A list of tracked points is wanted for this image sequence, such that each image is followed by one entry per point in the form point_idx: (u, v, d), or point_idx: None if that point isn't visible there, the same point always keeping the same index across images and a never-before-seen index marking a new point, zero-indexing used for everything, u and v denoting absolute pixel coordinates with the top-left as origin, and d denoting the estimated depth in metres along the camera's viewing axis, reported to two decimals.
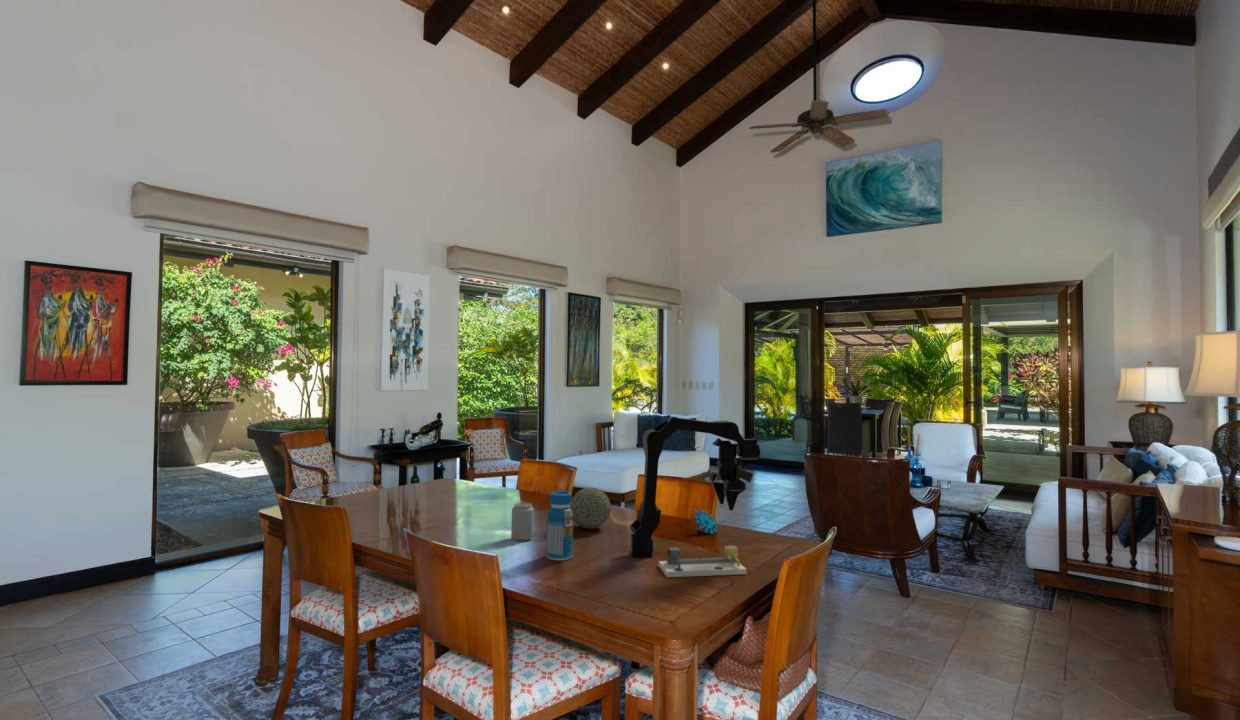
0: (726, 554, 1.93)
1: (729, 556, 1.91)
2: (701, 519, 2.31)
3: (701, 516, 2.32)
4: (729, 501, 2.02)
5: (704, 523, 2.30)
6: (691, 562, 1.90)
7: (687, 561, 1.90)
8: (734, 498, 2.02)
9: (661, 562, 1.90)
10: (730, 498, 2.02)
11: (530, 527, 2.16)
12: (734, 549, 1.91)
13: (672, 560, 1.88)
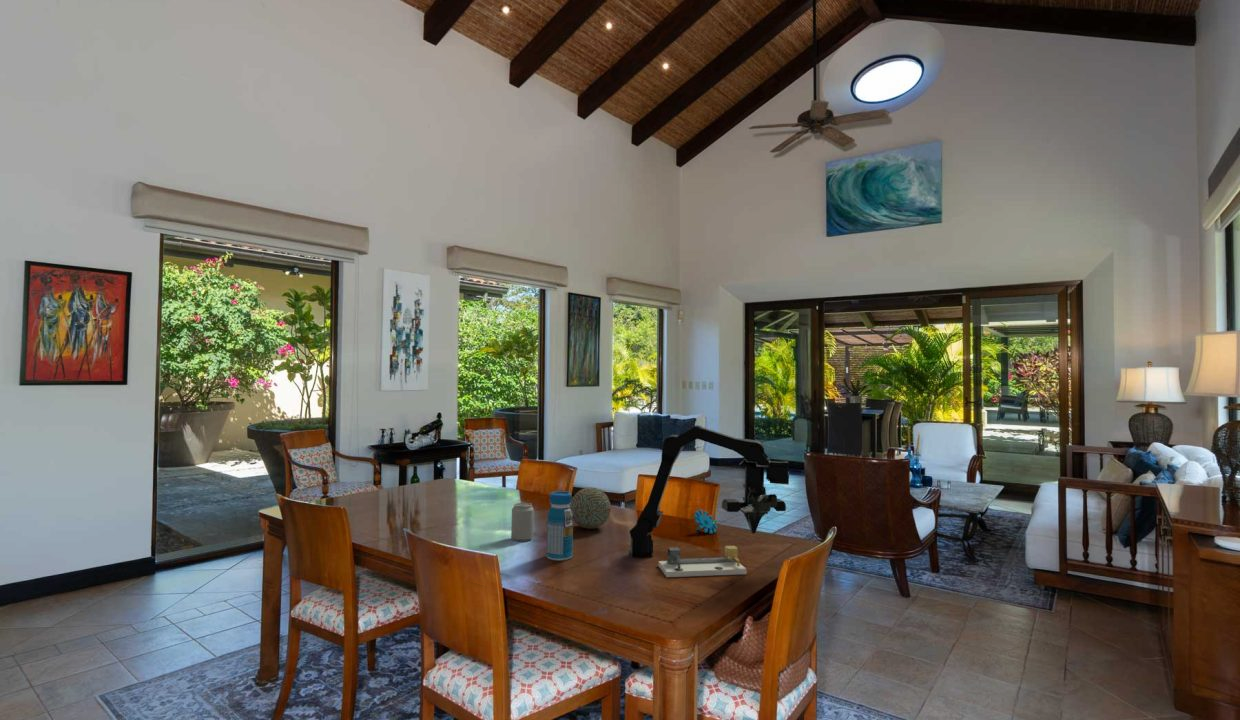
0: (726, 554, 1.93)
1: (729, 556, 1.91)
2: (701, 519, 2.31)
3: (701, 516, 2.33)
4: (748, 522, 1.95)
5: (704, 523, 2.31)
6: (691, 562, 1.90)
7: (687, 561, 1.90)
8: (749, 520, 1.93)
9: (661, 562, 1.90)
10: (747, 519, 1.95)
11: (530, 527, 2.16)
12: (734, 549, 1.91)
13: (672, 560, 1.88)
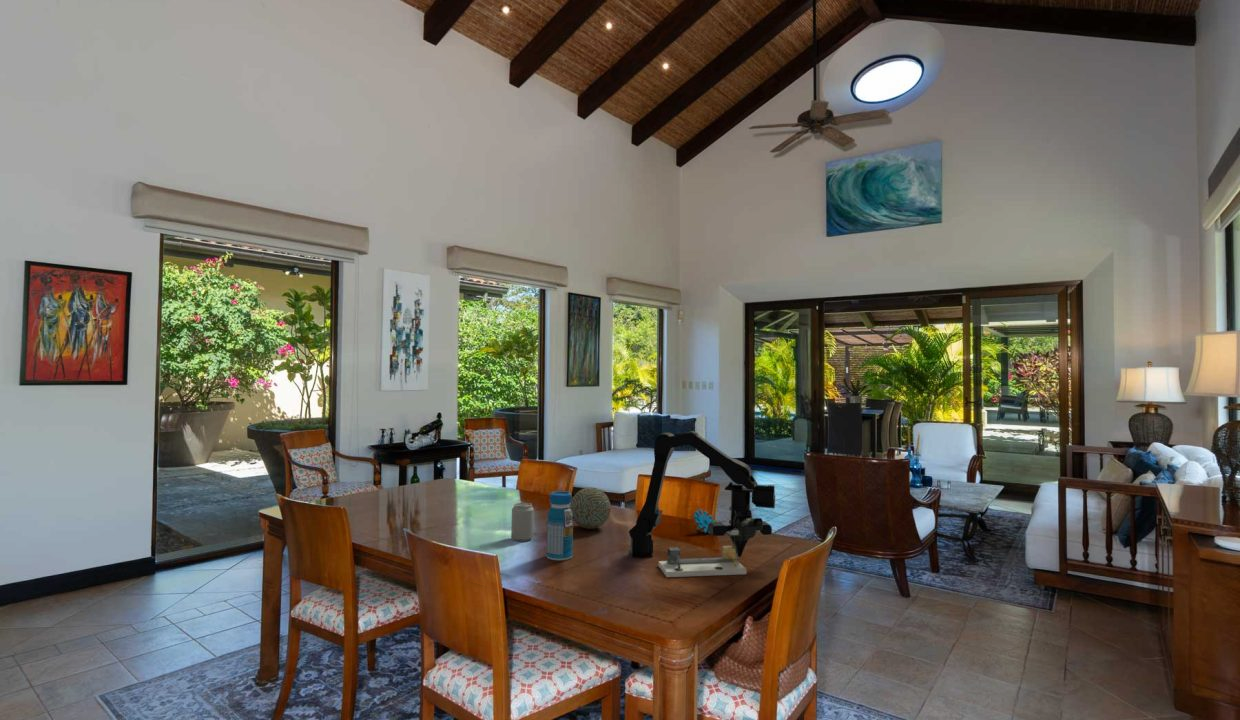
0: (724, 554, 1.92)
1: (727, 556, 1.91)
2: (700, 519, 2.32)
3: (700, 516, 2.33)
4: (734, 545, 1.94)
5: (703, 523, 2.31)
6: (691, 562, 1.90)
7: (687, 561, 1.90)
8: (735, 543, 1.93)
9: (661, 562, 1.90)
10: (734, 542, 1.94)
11: (530, 527, 2.16)
12: (732, 549, 1.91)
13: (672, 560, 1.88)
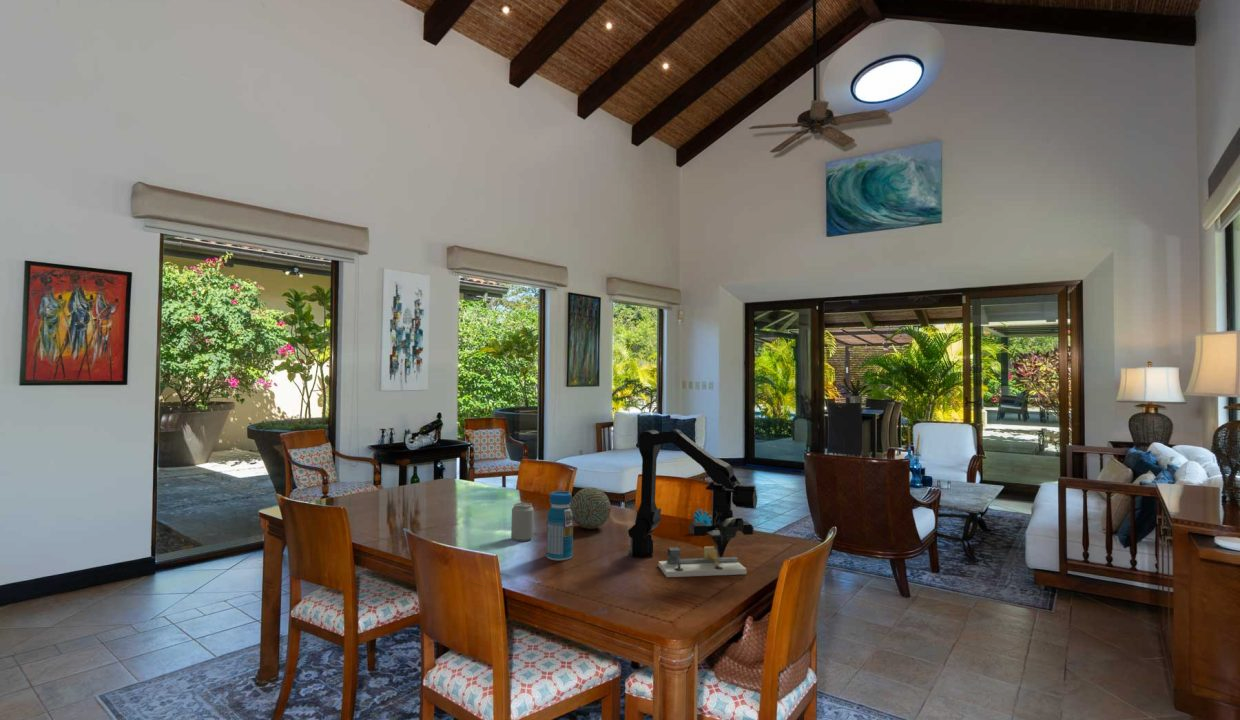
0: (705, 555, 1.91)
1: (708, 557, 1.90)
2: (700, 519, 2.32)
3: (700, 516, 2.33)
4: (715, 545, 1.93)
5: (703, 523, 2.31)
6: (691, 562, 1.90)
7: (687, 561, 1.90)
8: (716, 544, 1.92)
9: (661, 562, 1.90)
10: (715, 542, 1.93)
11: (530, 527, 2.16)
12: (713, 550, 1.90)
13: (672, 560, 1.88)
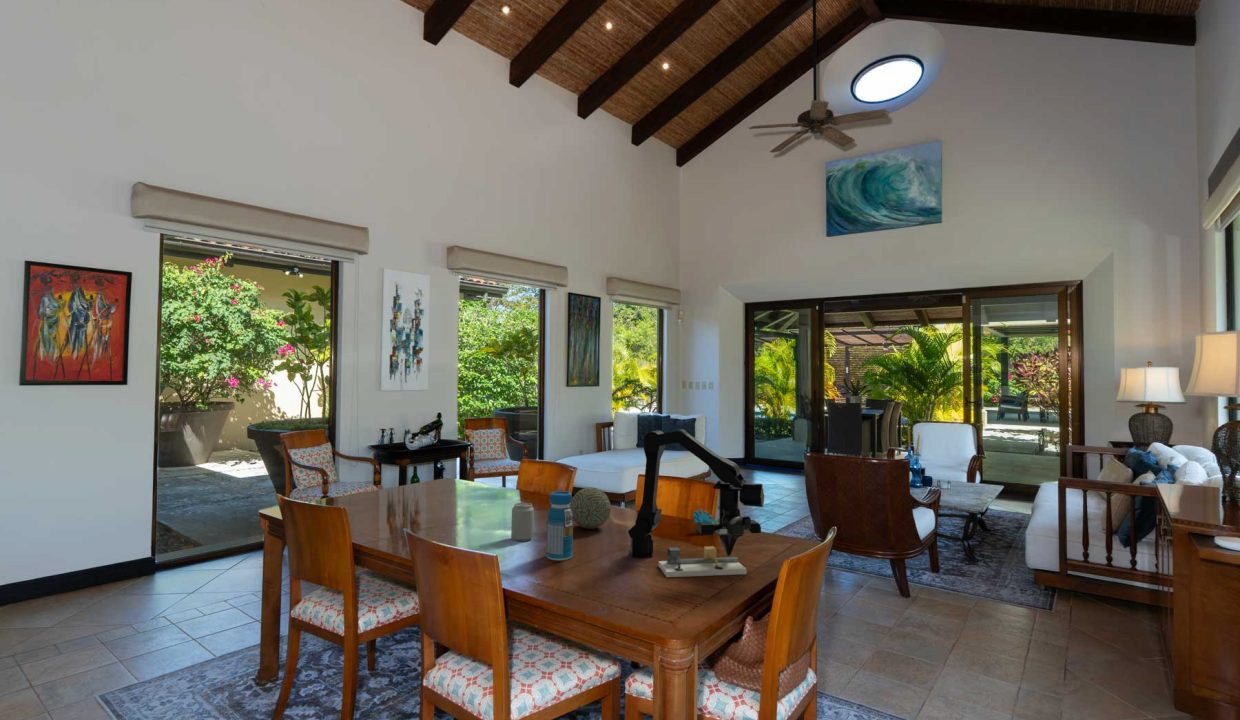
0: (705, 555, 1.91)
1: (708, 557, 1.90)
2: (700, 518, 2.32)
3: (700, 516, 2.33)
4: (723, 544, 1.93)
5: None
6: (691, 562, 1.90)
7: (687, 561, 1.90)
8: (724, 542, 1.92)
9: (661, 562, 1.90)
10: (723, 541, 1.93)
11: (530, 527, 2.16)
12: (713, 550, 1.90)
13: (672, 560, 1.88)
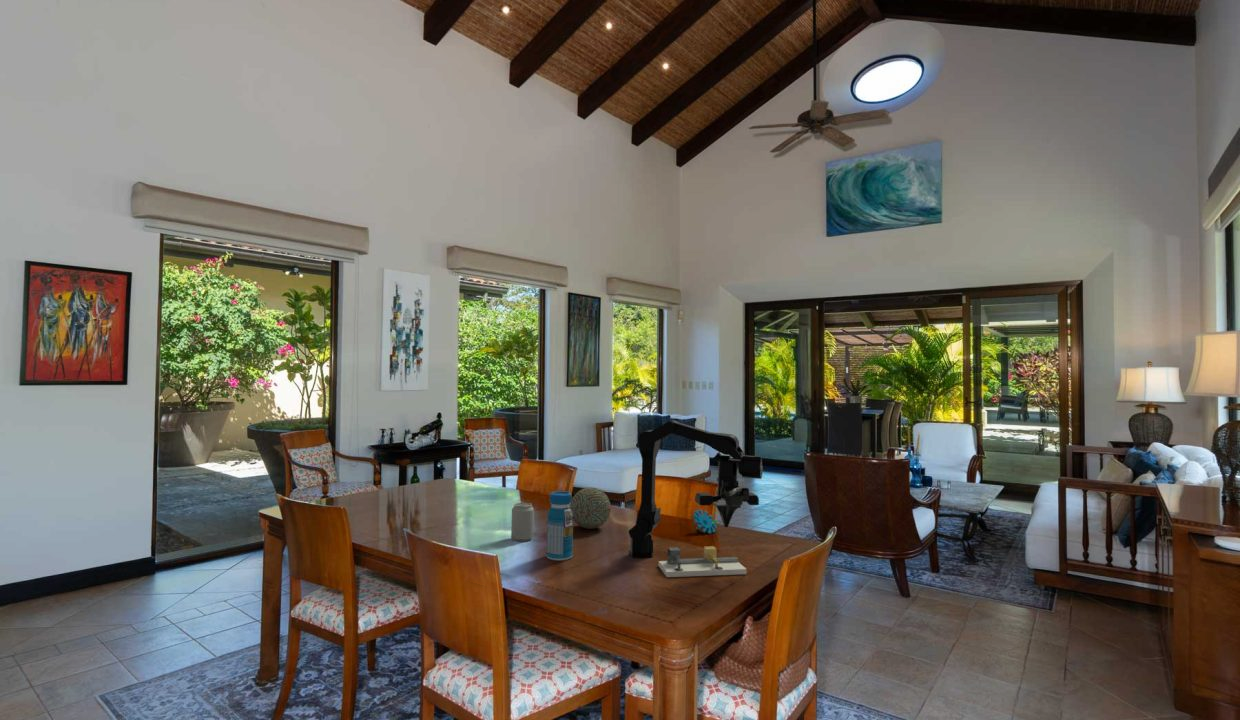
0: (705, 555, 1.91)
1: (708, 557, 1.90)
2: (700, 518, 2.32)
3: (700, 515, 2.33)
4: (721, 516, 1.95)
5: (702, 522, 2.31)
6: (691, 562, 1.90)
7: (687, 561, 1.90)
8: (722, 514, 1.93)
9: (661, 562, 1.90)
10: (720, 513, 1.94)
11: (530, 527, 2.16)
12: (713, 550, 1.90)
13: (672, 560, 1.88)
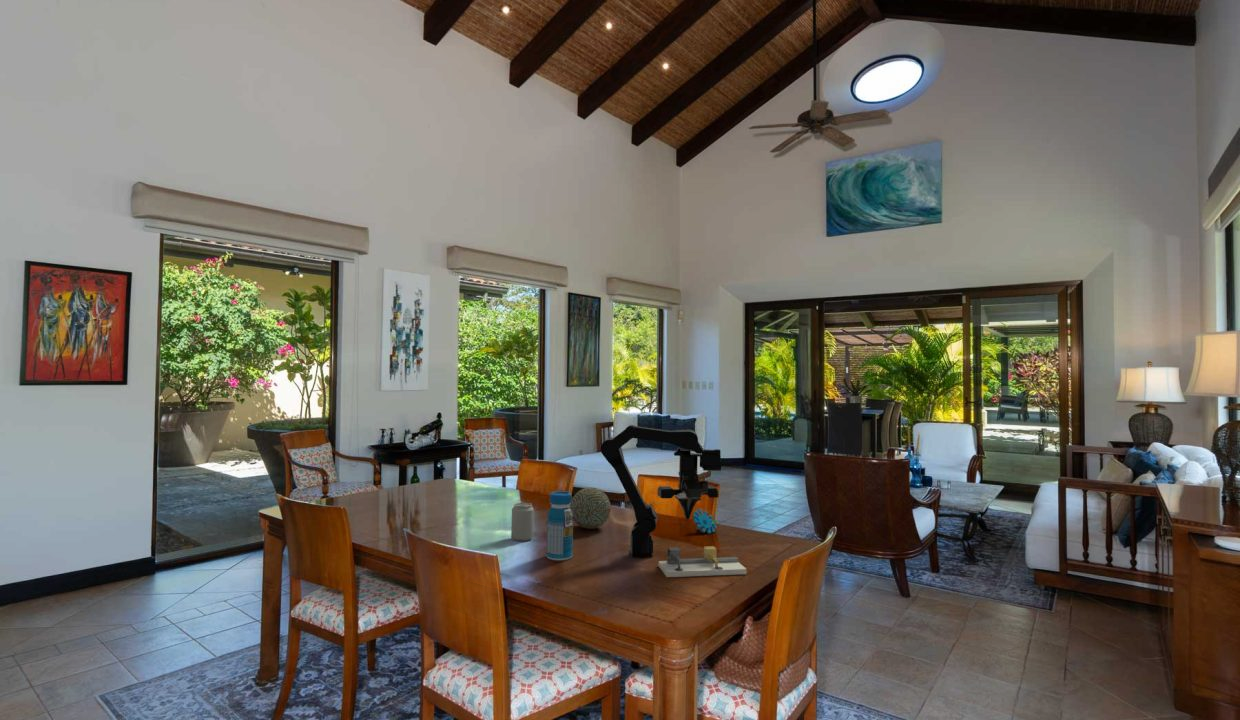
0: (705, 555, 1.91)
1: (708, 557, 1.90)
2: (699, 518, 2.32)
3: (700, 515, 2.33)
4: (682, 508, 2.02)
5: (702, 522, 2.31)
6: (691, 562, 1.90)
7: (687, 561, 1.90)
8: (683, 506, 2.01)
9: (661, 562, 1.90)
10: (682, 505, 2.02)
11: (530, 527, 2.16)
12: (713, 550, 1.90)
13: (672, 560, 1.88)
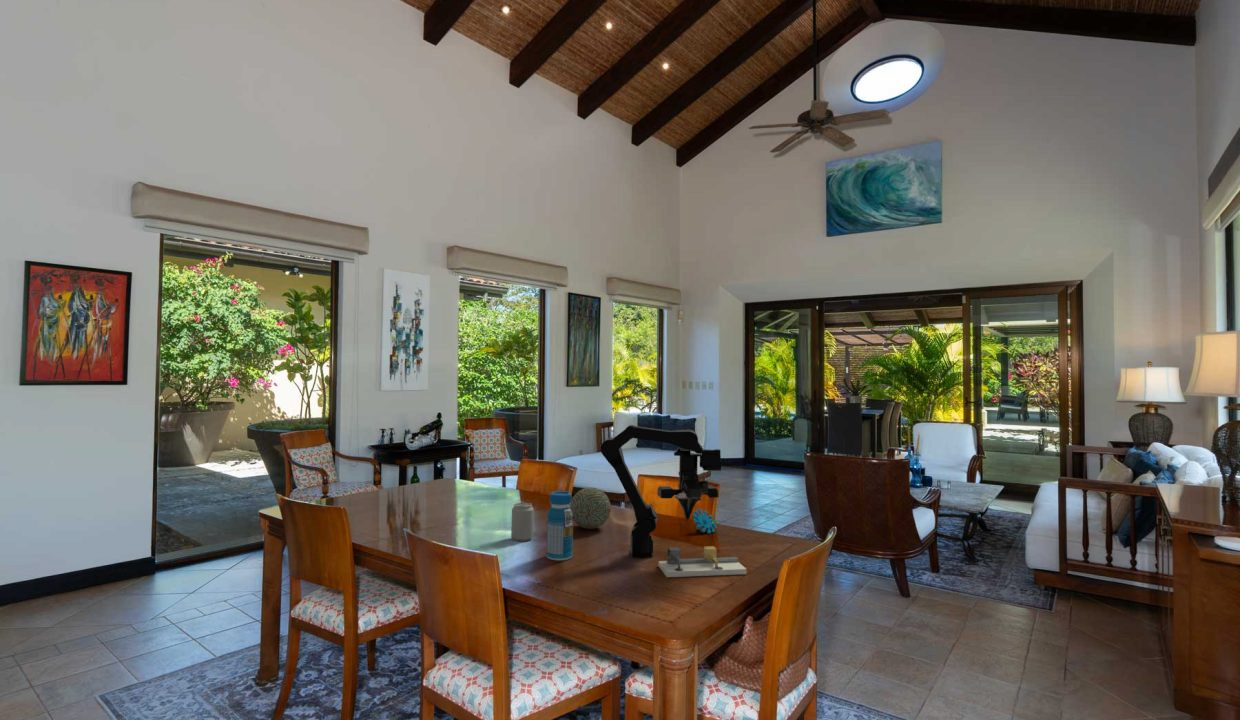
0: (705, 555, 1.91)
1: (708, 557, 1.90)
2: (699, 518, 2.32)
3: (700, 515, 2.33)
4: (682, 508, 2.02)
5: (702, 522, 2.31)
6: (691, 562, 1.90)
7: (687, 561, 1.90)
8: (683, 506, 2.01)
9: (661, 562, 1.90)
10: (682, 505, 2.02)
11: (530, 527, 2.16)
12: (713, 550, 1.90)
13: (672, 560, 1.88)
